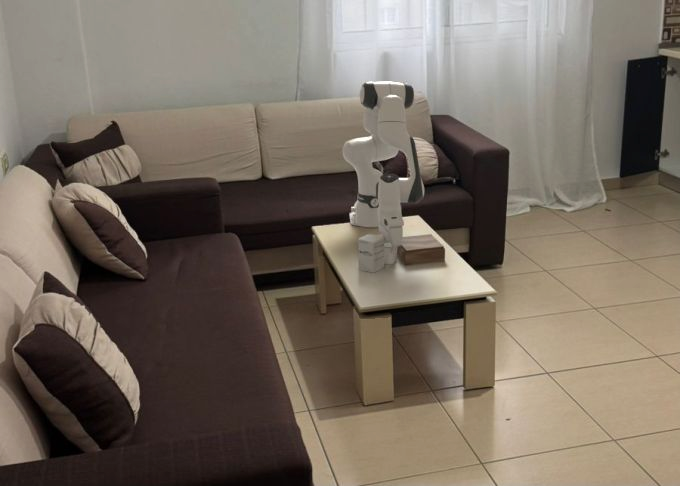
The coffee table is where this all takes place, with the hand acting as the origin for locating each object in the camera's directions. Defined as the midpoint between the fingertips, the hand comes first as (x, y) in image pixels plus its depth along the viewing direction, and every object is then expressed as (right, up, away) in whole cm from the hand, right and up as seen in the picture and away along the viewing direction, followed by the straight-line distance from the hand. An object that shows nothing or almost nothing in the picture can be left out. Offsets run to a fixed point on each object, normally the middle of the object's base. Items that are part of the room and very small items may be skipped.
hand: (390, 250), depth 336 cm
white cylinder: (0, -5, +2) cm, 5 cm away
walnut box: (+12, -2, +7) cm, 14 cm away
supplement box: (-7, -7, -5) cm, 11 cm away
